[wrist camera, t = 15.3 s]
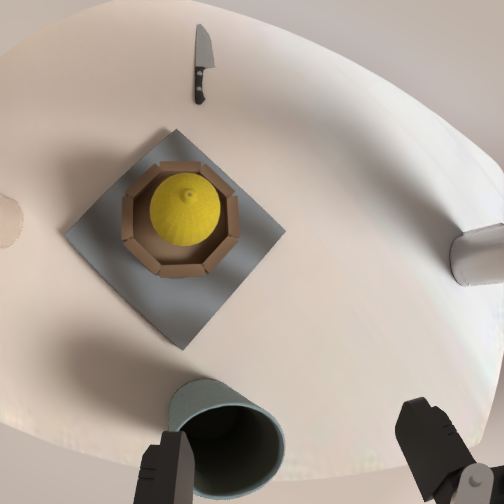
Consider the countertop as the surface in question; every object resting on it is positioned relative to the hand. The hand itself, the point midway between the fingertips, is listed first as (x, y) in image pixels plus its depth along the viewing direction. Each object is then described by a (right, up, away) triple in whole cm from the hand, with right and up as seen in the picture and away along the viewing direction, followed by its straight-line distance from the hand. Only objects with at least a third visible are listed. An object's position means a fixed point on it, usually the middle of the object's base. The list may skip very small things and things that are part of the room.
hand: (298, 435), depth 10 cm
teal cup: (-7, -12, +24) cm, 28 cm away
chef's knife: (-8, +35, +31) cm, 47 cm away
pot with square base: (-10, +8, +26) cm, 29 cm away
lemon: (-8, +9, +19) cm, 22 cm away
